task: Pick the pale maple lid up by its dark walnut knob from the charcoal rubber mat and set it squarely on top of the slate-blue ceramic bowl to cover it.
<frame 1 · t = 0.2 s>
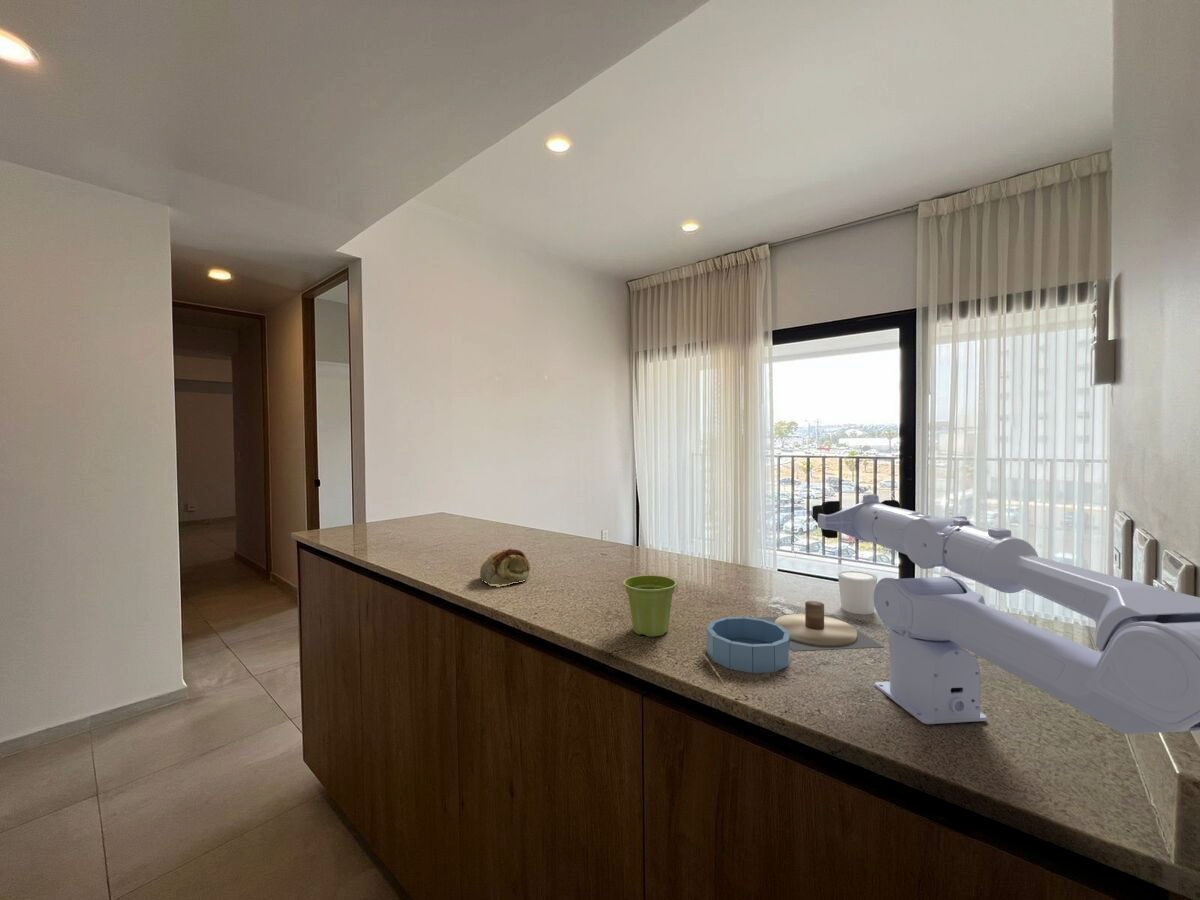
hand: (836, 511, 82), 21 cm above the counter, tool horizontal, fingers open, 7 cm apart
bowl: (747, 656, 77), on the counter
pastry: (505, 580, 122), on the counter
white cup: (857, 611, 97), on the counter
plant pot: (650, 632, 88), on the counter
lid: (814, 631, 86), resting on mat
mat: (814, 632, 86), on the counter
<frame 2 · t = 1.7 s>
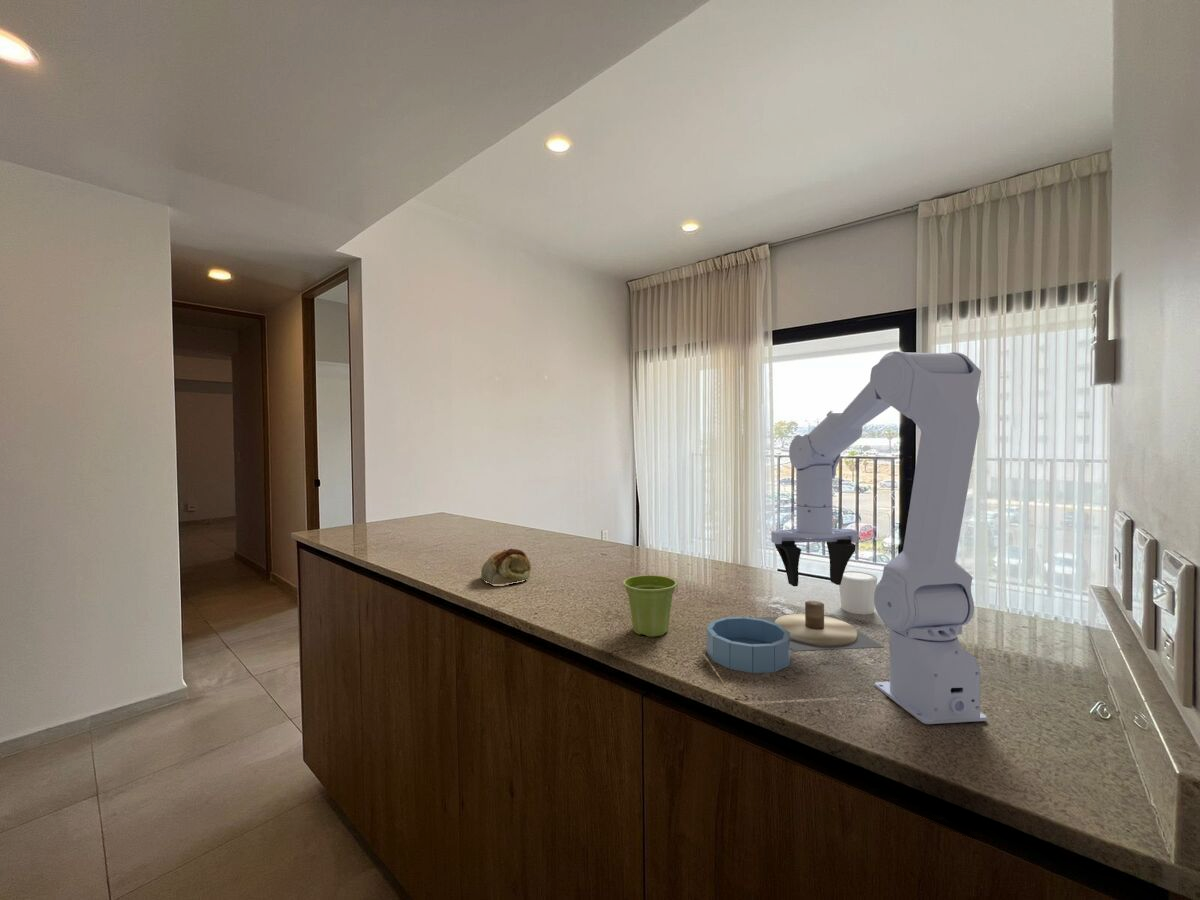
hand: (814, 584, 86), 8 cm above the counter, tool pointing down, fingers open, 7 cm apart
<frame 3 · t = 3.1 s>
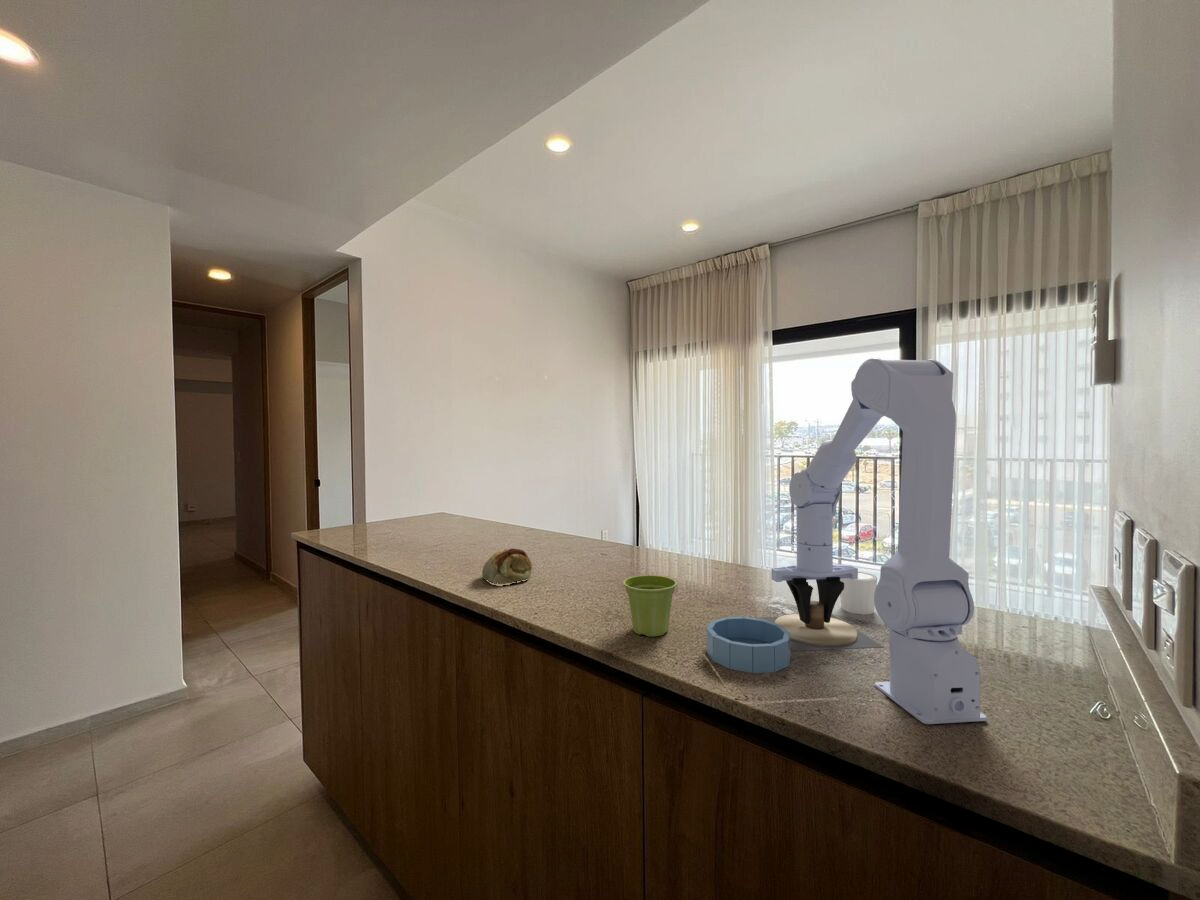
hand: (814, 621, 86), 2 cm above the counter, tool pointing down, fingers closed on lid, 3 cm apart
lid: (814, 631, 86), resting on mat, touching gripper
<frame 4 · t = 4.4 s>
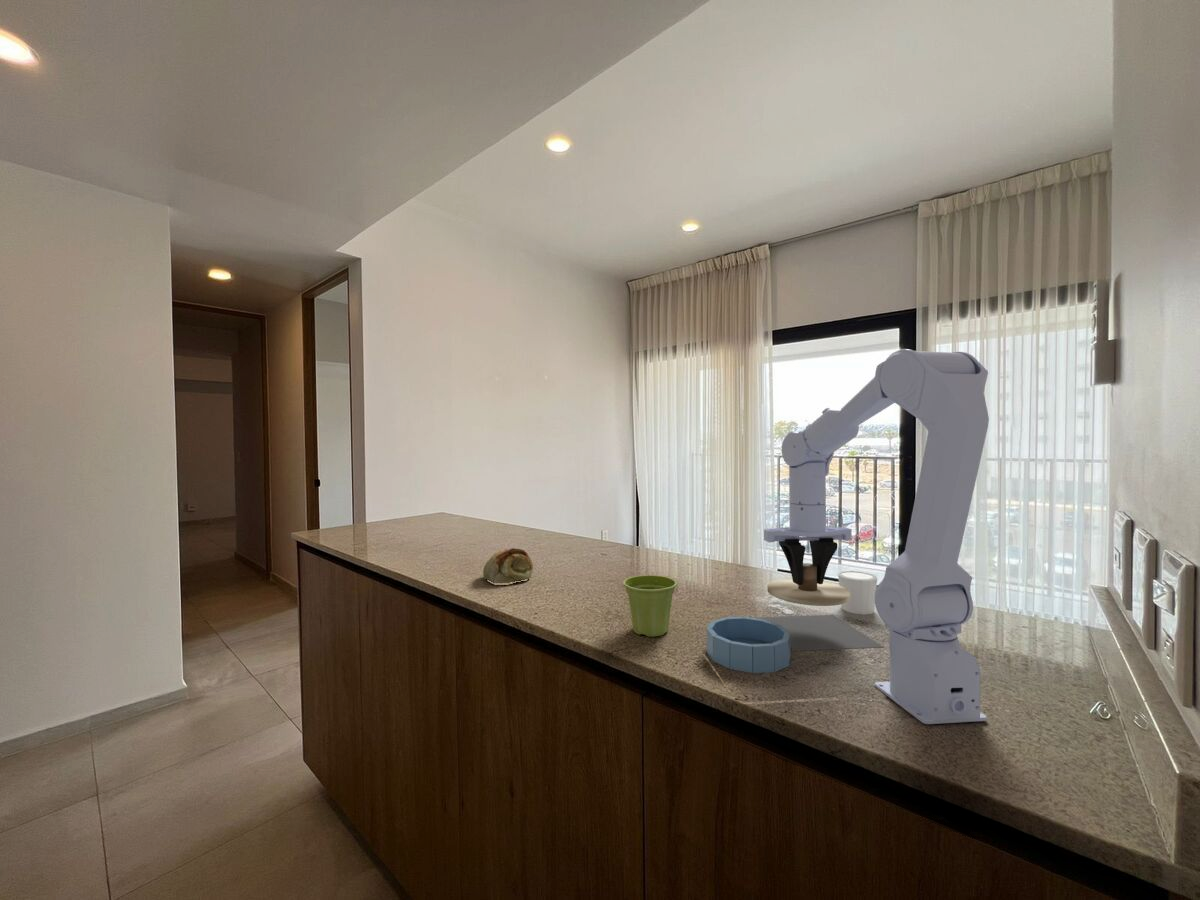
hand: (807, 583, 85), 9 cm above the counter, tool pointing down, fingers closed on lid, 3 cm apart
lid: (807, 593, 85), point 7 cm above the counter, touching gripper
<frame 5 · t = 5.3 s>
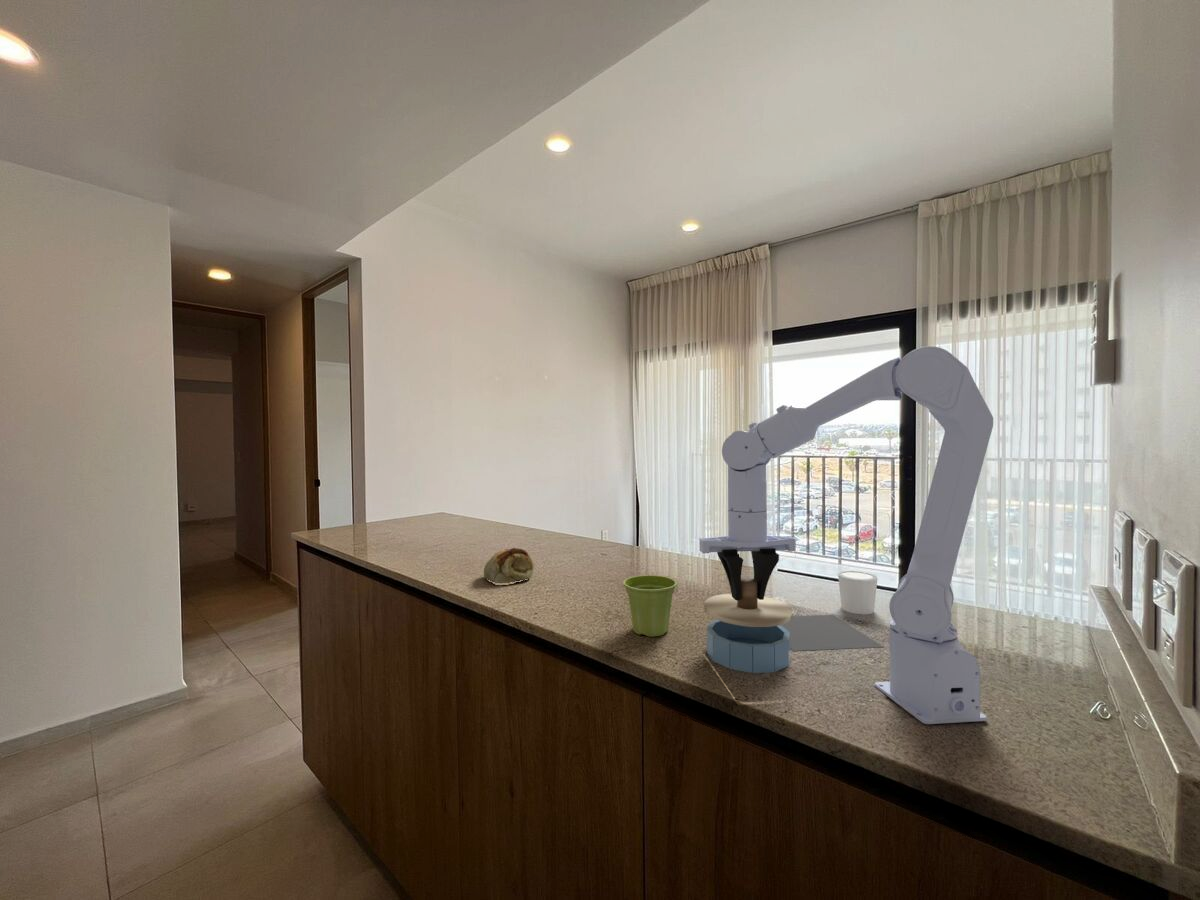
hand: (747, 598, 77), 9 cm above the counter, tool pointing down, fingers closed on lid, 3 cm apart
lid: (747, 611, 77), point 7 cm above the counter, touching gripper
when the fingers open (7 cm above the counter, at t = 6.0 s): lid stays where it is, resting on bowl.
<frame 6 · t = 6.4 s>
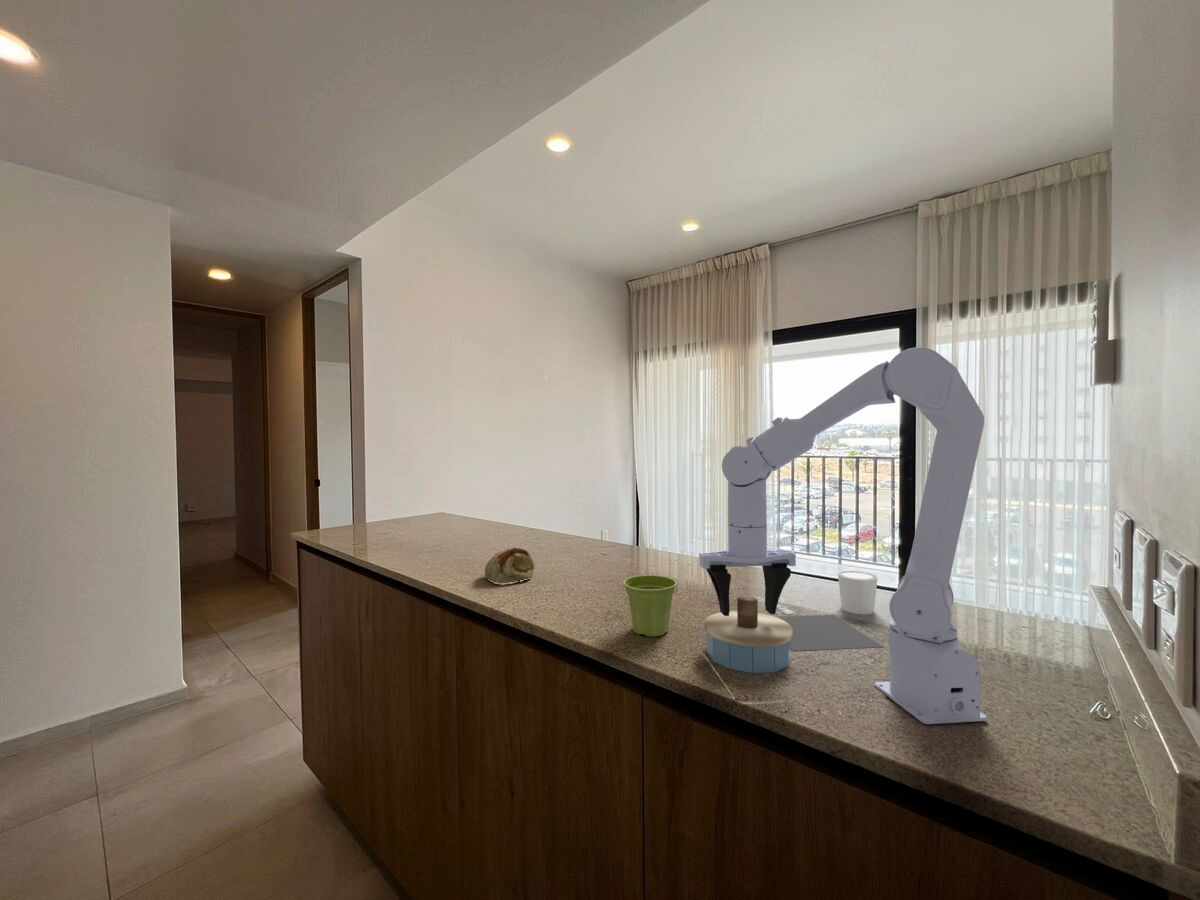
hand: (747, 613, 77), 7 cm above the counter, tool pointing down, fingers open, 7 cm apart
lid: (747, 630, 77), point 4 cm above the counter, touching bowl
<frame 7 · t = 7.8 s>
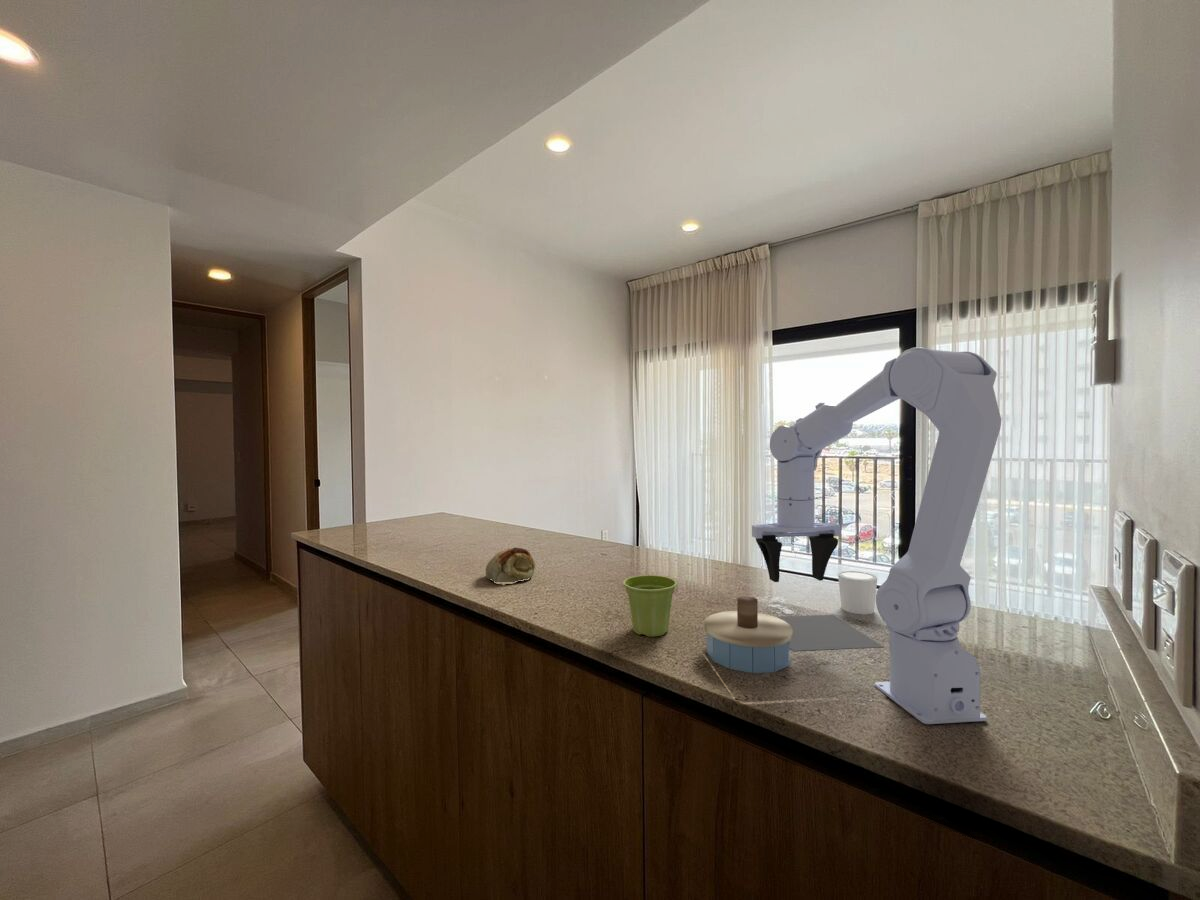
hand: (796, 579, 83), 10 cm above the counter, tool pointing down, fingers open, 7 cm apart
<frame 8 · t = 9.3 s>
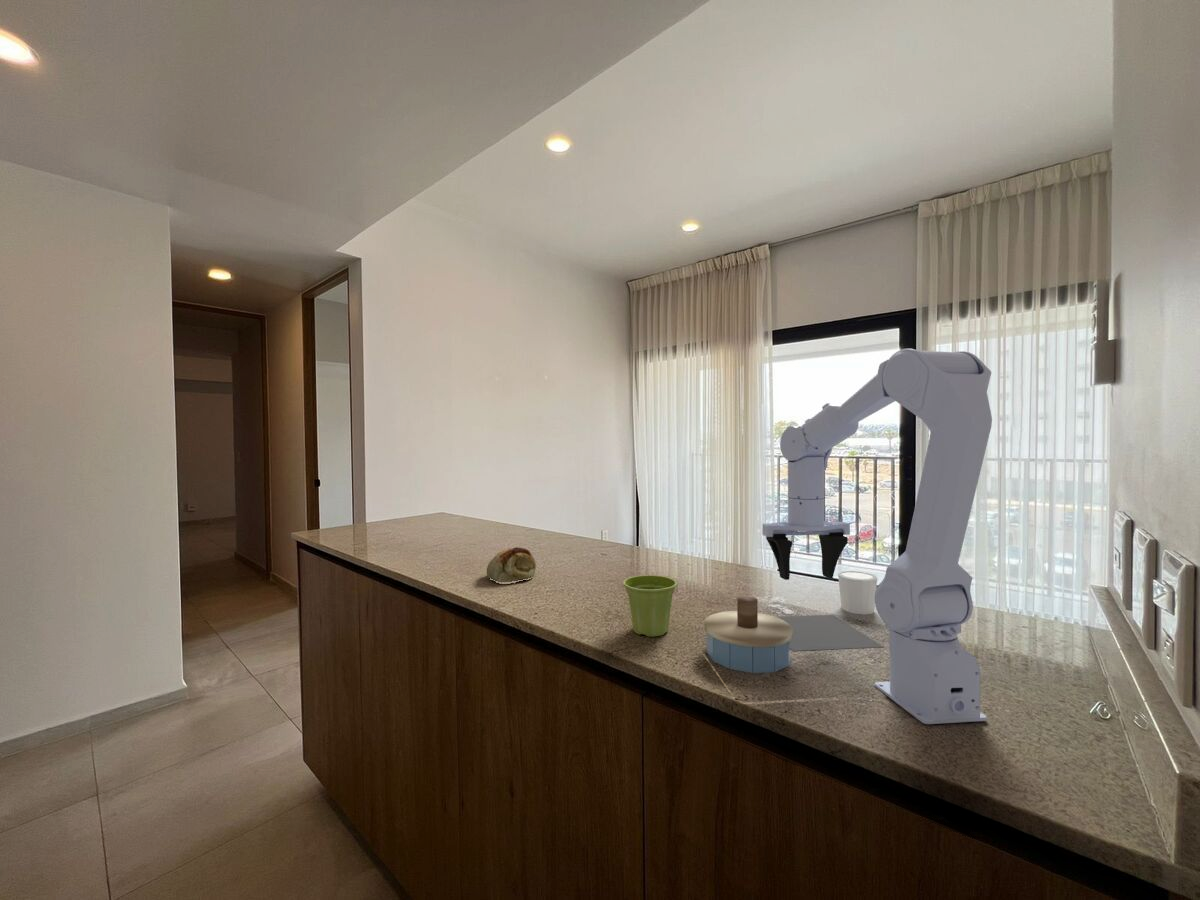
hand: (806, 577, 85), 10 cm above the counter, tool pointing down, fingers open, 7 cm apart
at the end: lid 0.1 cm off-centre on the bowl, point 4.0 cm above the bowl's base; lid tilted 0°; the gripper is holding nothing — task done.
